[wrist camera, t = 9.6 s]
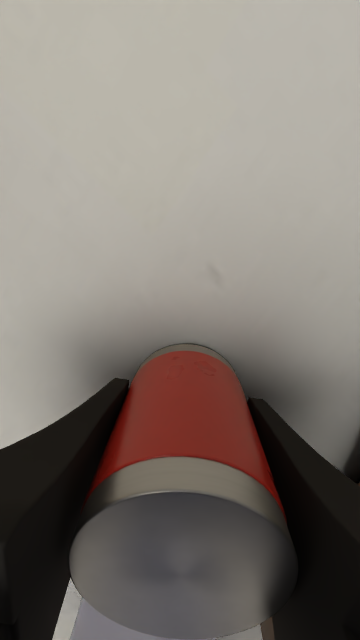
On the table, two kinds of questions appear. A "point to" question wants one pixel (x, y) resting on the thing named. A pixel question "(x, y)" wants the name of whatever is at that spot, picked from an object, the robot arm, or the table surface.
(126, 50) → the table surface
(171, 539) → the can
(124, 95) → the table surface
